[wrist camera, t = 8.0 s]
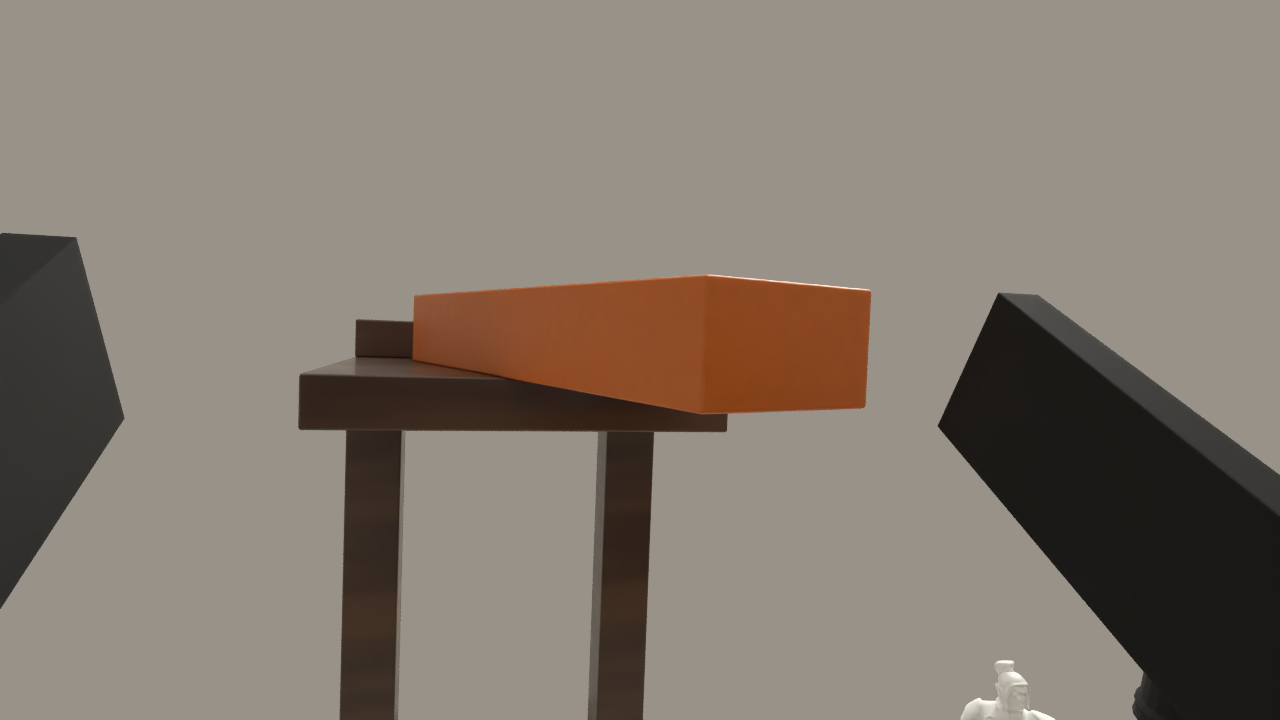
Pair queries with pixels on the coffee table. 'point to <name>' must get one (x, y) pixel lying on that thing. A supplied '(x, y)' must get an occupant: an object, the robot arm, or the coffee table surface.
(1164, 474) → the robot arm
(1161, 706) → the coffee cup
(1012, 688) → the figurine
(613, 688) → the walnut rack
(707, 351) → the orange block
